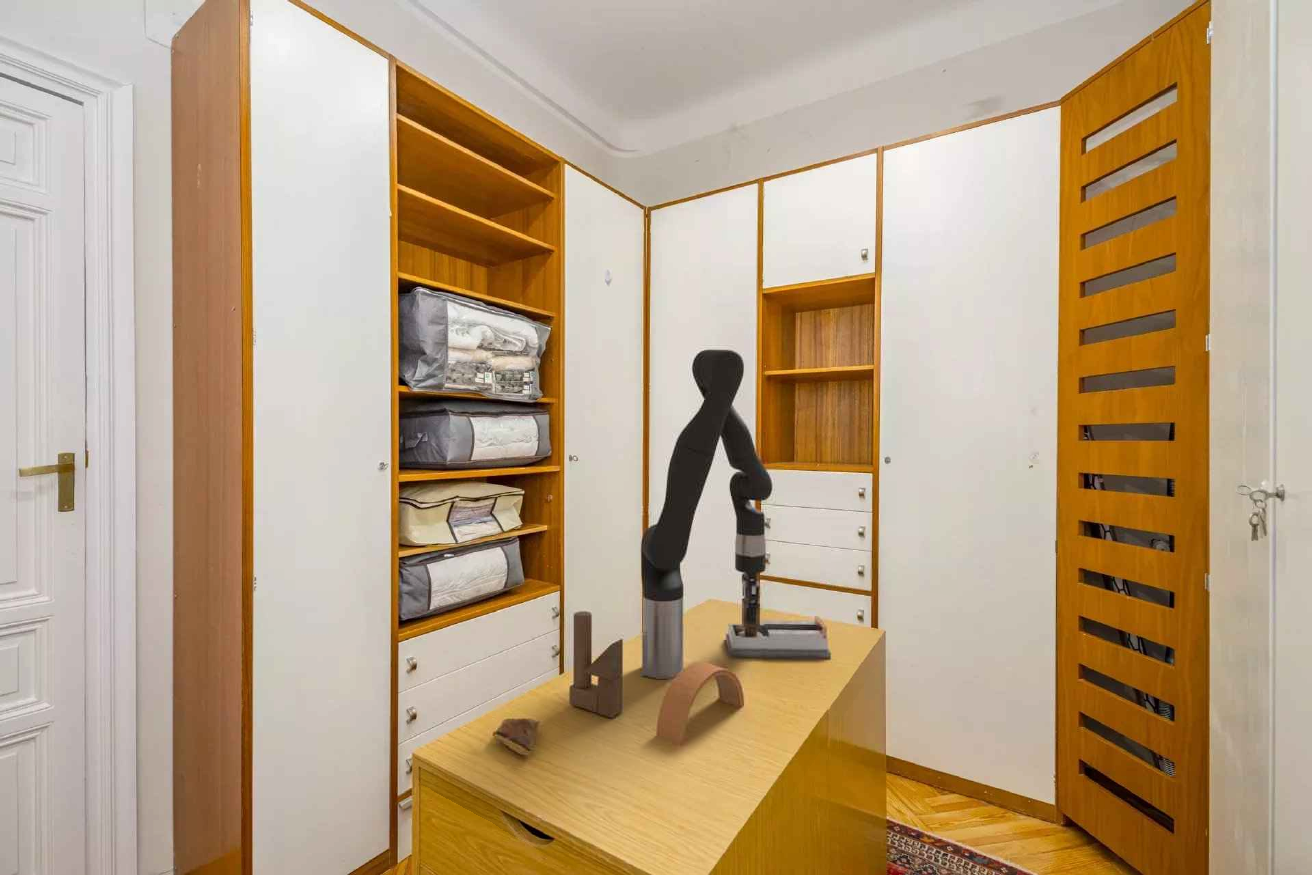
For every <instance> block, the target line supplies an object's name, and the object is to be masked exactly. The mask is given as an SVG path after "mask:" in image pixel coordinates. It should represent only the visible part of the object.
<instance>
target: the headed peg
mask: <svg viewBox="0 0 1312 875" xmlns="http://www.w3.org/2000/svg"><path fill="white" fill-rule="evenodd" d="M750 603H754V600H750ZM741 624H743V627H745V631H742V632H740V633H739V636H763V634H762V633H760V632H757V628H760V624H761V602H760V600H759V599H758V608H756V623H747V607H746V599H745V598H744V597H743V598H741Z"/></svg>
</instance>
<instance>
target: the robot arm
mask: <svg viewBox="0 0 1312 875" xmlns="http://www.w3.org/2000/svg"><path fill="white" fill-rule="evenodd" d="M691 371H692V375H693V378H694V381H695V384H696V386H697V388H698V390H699V392H700V394H701V395H702V396H701V397H702V398H703V402H702V404H701V406H700V408H699V409H698V411H697V412H696V414H695V415H694V416H693V417H692V418H691V419H690V420H689V422H688V423H687V424H686V426H685V427H683V429H682V431H681V432H680V433H679V435H678V437H677V439H676V442H675V446H674V448H673V451H672V454H671V457H670V460H669V464H668V469H667V478H666V487H665V497H664V503H663V507H662V510H661V513H660V515H659V518H658V521H657V522H656V523H655V524H653V525H651V526H650V527H648V528H647V529H646V530H645V531H644V534H642V538H641V541H640V542H641V543H640V544H641V545H640V561H641V562H640V569H641V572H640V573H641V574H640V576H641V578H640V579H641V583H642V633H641V675H642V676H643V677H650V678H652V679H659V680H668V679H675V678H676V676H677V675H678V674H679V673H680V672H681V671H682V670H683V669H684V583H683V579H682V574H681V563H682V562H683V560H684V559H685V557H686V554H687V550H688V547H689V546H688V545H689V541H690V537H691V531H692V528H693V527H692V526H693V522H694V519H695V514H696V511H697V509H698V508H697V507H698V505H699V502H700V500H701V498H702V494H703V491H704V488H705V485H706V481H707V479H708V476H709V473H710V472H711V467H712V464H713V461H714V458H715V455H716V450H717V448H718V444H719V441H720V439H721V442H722V445H723V448H724V451H725V454H726V458H727V460H728V464H729V465H730V467H732V469H734V470H738V471H735V473H734V474H733V475H732V476H731V478H730V480H729V493H730V497H731V500H732V505H733V509H734V512H735V518H736V519H735V520H736V522H735V523H736V524H735V525H736V528H735V529H736V531H735V532H736V533H735V534H736V535H735V541H734V545H735V549H734V550H735V551H734V554H735V555H734V559H735V560H734V564H735V565H734V566H735V570H736V571H737V572H739V573H742V574H741V584H742V585H741V591H742V597H743V598H745V599H746V607H747V623H756V608H758V600H759V594H760V579H759V578H758V576H757V574H762V573H764V572H765V571H766V568H767V567H766V564H767V563H766V561H767V560H766V559H767V558H766V555H767V554H766V553H767V550H766V545H767V544H766V535H765V534H766V532H765V527H766V525H765V523H766V522H765V521H766V519H765V518H766V517H765V513H764V512H763V511H762V510H761V509H760V510H759V509H757V508H755V507H754V506H752V503H751V501H755V502H756V501H757V502H758V501H759V502H762V501H767V499H769V497H770V496H771V495H772V491H773V481H772V478H771V476H770V474H769V472H768V471H767V469H766V467H765V466H764V464H763V463H762V461H761V459H760V457H759V456H758V454H757V451H756V448H755V445H754V441H753V438H752V435H751V431H750V429H749V428H748V425H747V424H746V423H745V421H744V420H743V418H742V417H741V415H740V414H739V413H738V411H737V409H736V408H735V406H734V405H733V402H734V400H735V398H736V395H737V394H738V391H739V390H740V386H741V383H742V381H743V378H744V371H745V363H744V360H743V358H742V356H741V354H740V352H738V351H735V350H731V349H704V350H701V351H700V352H698V353H697V354H696V355H695V357H694V359H693V361H692V365H691ZM750 600H754V603H750Z"/></svg>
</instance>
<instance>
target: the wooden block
mask: <svg viewBox="0 0 1312 875" xmlns="http://www.w3.org/2000/svg"><path fill="white" fill-rule="evenodd" d="M592 617H593V615H592V613H591V612H590V611H584V610H581V611H577V612H574V613H573V684H571V685H570V686H569V687H568V688H569V694H568V695H569V700H568V701H569V703H568V704H570V705H572V706H576V707H579V708H582V709H585V710H588V711H591V712H594V713H596V714H598V715H601V716H603V717H606V718H610V719H613V718H614V717H616V716H617V715H619V714H620V713H622V711H623V671H624V670H623V666H624V665H623V662H624V661H623V660H624V659H623V657H624V654H623V653H624V652H623V649H624V648H623V646H624V645H623V644H624V642H623V640H624V639H623V638H621V639H619V640H617V641H615V642H613V643H611V644H610V645H609V646H607V647H606V649H605V650H604V651H602V653H600V655H599V656H597V658H595V660H594V661H593V660H592V658H593V657H592V655H593V654H592V652H593V650H592V649H593V648H592V646H593V644H592V643H593V642H592V641H593V640H592V639H593V638H592V636H593V634H592V632H593V630H592V628H593V625H592V624H593V622H592V621H593V620H592ZM592 661H593V662H592ZM592 676H594V677H598V678H597V684H593V683H592V681H593V680H592Z"/></svg>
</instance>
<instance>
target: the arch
mask: <svg viewBox="0 0 1312 875" xmlns="http://www.w3.org/2000/svg"><path fill="white" fill-rule="evenodd" d="M713 678H714V679H715V682H716V685H717V691H718V700H721V701H722V702H725V703H728V704H730V705H734V706H736V707H740V708H742V707H743V706H745V696H744V691H743V687H742V684H741V681H740V680H739V678H738V676H737V675H736V674H735V673H734V672H733V671H732V670H729V669H727V668H723V667H721V666H717V665H714V664H712V663H709V662H708V663H707V662H706V661H694V662H692V663H690V664H689V665H687V666H686V667H683V670H682V671H681V672H680V673H679V674H678V675H677V676H676V677H674V678H673V681H672V682H671V684H670V685H669V687H668V688H667V691H666V692H665V695H664V697H663V701H662V703H661V706H660V709H659V714H658V717H657V723H656V736H657V737H658V738H660V739H662V740H666V741H667V742H670V743H672V744H675V745H677V746H679V747H682V746H683V745H684V740H685V732H686V726H687V721H688V718H689V716H690V711H691V708H692V707H693V704H694V702H695V700H696V698H697V696H698V695H699V693H700V692H701V690H702V689H703V687H704V686H705V685H706V684H707V683H708V682H709V681H710V680H711V679H713Z"/></svg>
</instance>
